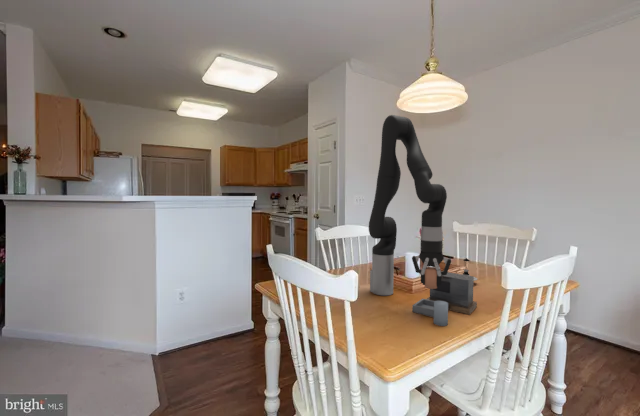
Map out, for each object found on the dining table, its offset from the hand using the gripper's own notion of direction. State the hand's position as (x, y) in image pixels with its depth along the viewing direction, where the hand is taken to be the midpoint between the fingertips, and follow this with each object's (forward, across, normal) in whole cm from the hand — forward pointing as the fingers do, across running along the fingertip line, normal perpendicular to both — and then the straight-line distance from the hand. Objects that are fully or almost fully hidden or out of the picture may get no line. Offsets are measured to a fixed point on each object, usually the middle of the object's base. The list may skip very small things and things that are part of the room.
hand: (430, 284), depth 113 cm
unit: (+10, +7, +9) cm, 15 cm away
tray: (+10, 0, 0) cm, 10 cm away
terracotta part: (+1, 0, 0) cm, 1 cm away
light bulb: (+10, +14, +45) cm, 48 cm away
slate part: (+10, +4, -10) cm, 14 cm away
